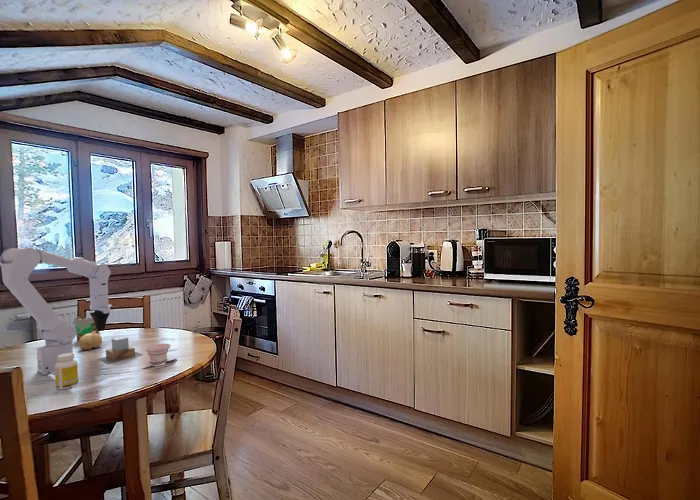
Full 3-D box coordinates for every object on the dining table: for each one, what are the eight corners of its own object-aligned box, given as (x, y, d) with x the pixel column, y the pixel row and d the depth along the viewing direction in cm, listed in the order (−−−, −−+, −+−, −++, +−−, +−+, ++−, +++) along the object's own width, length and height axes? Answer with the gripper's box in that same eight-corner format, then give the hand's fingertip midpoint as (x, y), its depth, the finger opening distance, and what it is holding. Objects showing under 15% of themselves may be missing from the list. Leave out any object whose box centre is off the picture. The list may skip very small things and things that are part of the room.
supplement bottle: (82, 382, 112) (81, 351, 112) (69, 390, 107) (68, 357, 107) (64, 383, 112) (63, 352, 112) (51, 390, 107) (49, 358, 107)
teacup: (184, 359, 133) (183, 342, 133) (159, 371, 121) (158, 353, 121) (157, 357, 136) (156, 341, 136) (130, 368, 125) (129, 351, 124)
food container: (66, 341, 161) (65, 319, 161) (80, 337, 167) (79, 316, 167) (87, 343, 158) (86, 320, 158) (100, 339, 164) (99, 317, 163)
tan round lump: (100, 349, 147) (99, 332, 147) (76, 352, 144) (75, 335, 144) (103, 344, 155) (103, 328, 154) (81, 347, 151) (80, 330, 151)
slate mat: (107, 367, 126) (107, 364, 126) (96, 361, 132) (96, 359, 132) (143, 357, 136) (143, 354, 136) (132, 352, 142) (132, 350, 142)
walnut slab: (113, 361, 129) (113, 353, 129) (106, 357, 133) (105, 349, 133) (134, 355, 135) (134, 348, 135) (126, 352, 139) (126, 345, 139)
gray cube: (116, 351, 131) (116, 340, 131) (112, 349, 134) (111, 338, 133) (128, 348, 134) (128, 337, 134) (124, 346, 137) (123, 336, 137)
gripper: (118, 295, 138) (120, 330, 138) (103, 292, 146) (105, 325, 147) (97, 297, 132) (98, 334, 132) (83, 294, 141) (84, 329, 141)
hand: (100, 330), depth 139 cm, fingers closed
